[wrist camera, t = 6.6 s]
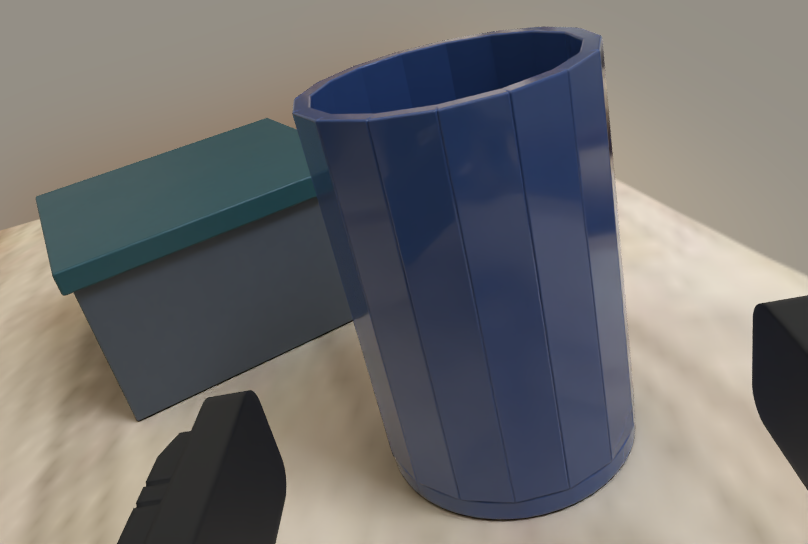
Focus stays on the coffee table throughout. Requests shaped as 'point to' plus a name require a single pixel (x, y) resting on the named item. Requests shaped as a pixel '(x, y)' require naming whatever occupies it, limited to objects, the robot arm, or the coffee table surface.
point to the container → (197, 261)
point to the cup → (482, 262)
